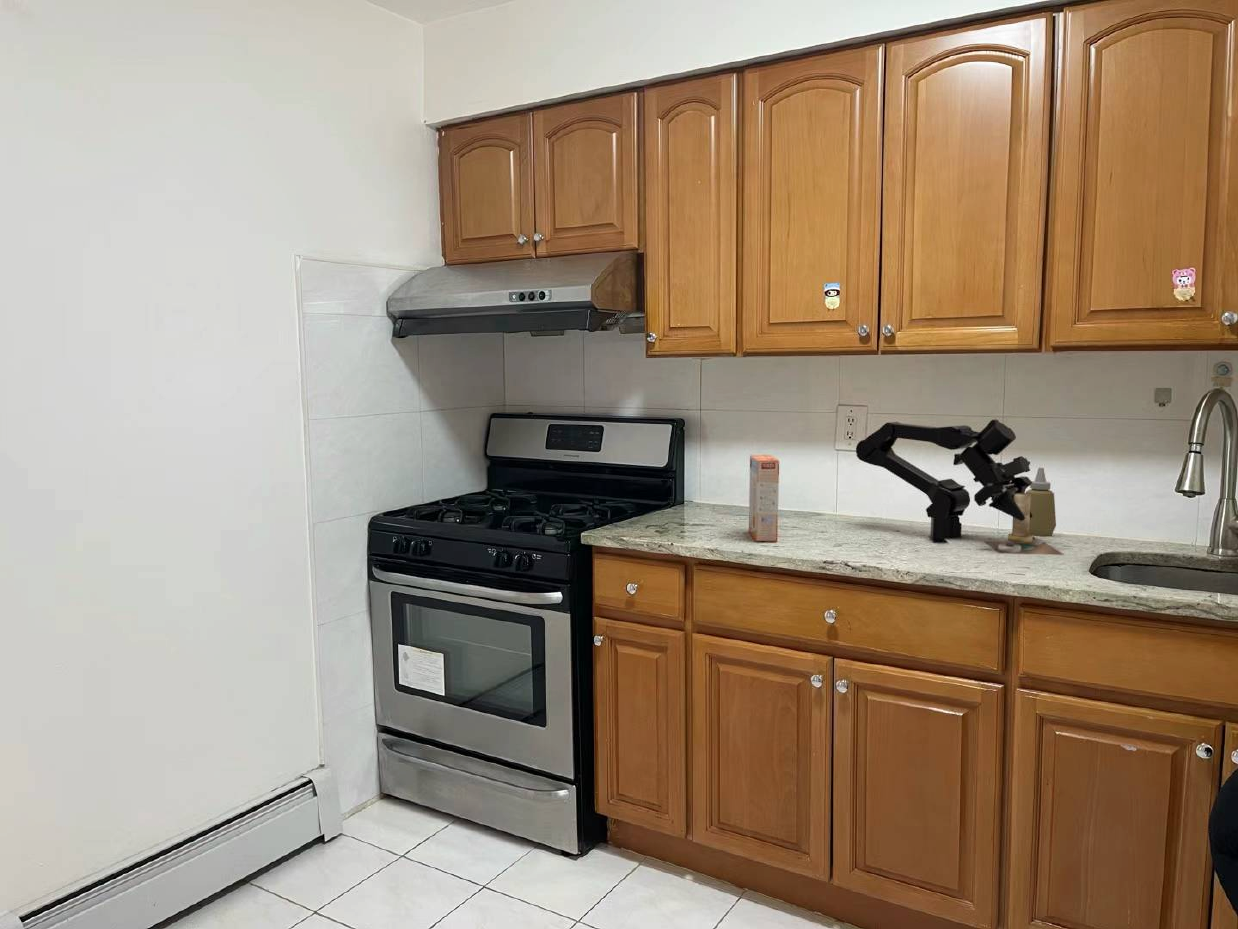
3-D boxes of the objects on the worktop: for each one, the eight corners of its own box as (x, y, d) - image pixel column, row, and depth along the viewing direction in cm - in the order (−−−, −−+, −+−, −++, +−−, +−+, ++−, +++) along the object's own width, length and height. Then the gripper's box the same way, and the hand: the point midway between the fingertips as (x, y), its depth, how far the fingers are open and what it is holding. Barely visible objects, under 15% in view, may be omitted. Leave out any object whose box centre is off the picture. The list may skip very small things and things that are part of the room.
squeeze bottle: (1035, 542, 221) (1039, 470, 219) (1013, 536, 229) (1016, 466, 226) (1062, 540, 223) (1066, 469, 221) (1039, 534, 231) (1042, 465, 229)
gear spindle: (1011, 542, 206) (1013, 495, 205) (1005, 538, 212) (1007, 492, 210) (1035, 542, 206) (1037, 495, 204) (1028, 538, 211) (1030, 492, 210)
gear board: (998, 558, 203) (999, 545, 203) (983, 546, 217) (984, 534, 216) (1063, 559, 201) (1064, 546, 201) (1044, 547, 214) (1045, 535, 214)
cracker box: (779, 542, 223) (780, 459, 220) (755, 542, 223) (755, 459, 221) (770, 532, 237) (771, 453, 234) (748, 532, 237) (748, 454, 234)
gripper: (989, 448, 203) (1035, 501, 196) (1025, 443, 215) (1070, 493, 208) (955, 479, 210) (999, 531, 203) (992, 472, 222) (1034, 521, 215)
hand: (1027, 518), depth 207 cm, fingers closed on gear spindle, 3 cm apart
